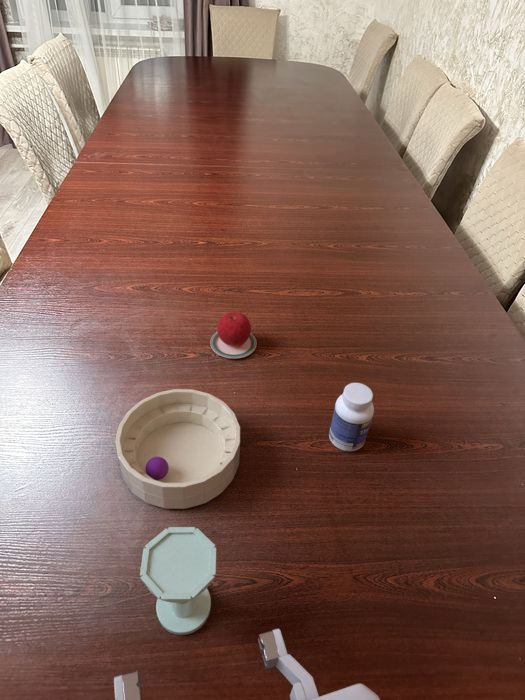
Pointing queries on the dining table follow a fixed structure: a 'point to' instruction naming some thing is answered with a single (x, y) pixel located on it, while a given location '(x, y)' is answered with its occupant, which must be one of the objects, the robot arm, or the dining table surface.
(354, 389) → the pill bottle
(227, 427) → the bowl
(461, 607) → the dining table surface
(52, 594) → the dining table surface
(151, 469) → the ball
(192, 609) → the pedestal stand
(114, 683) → the robot arm
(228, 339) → the apple
